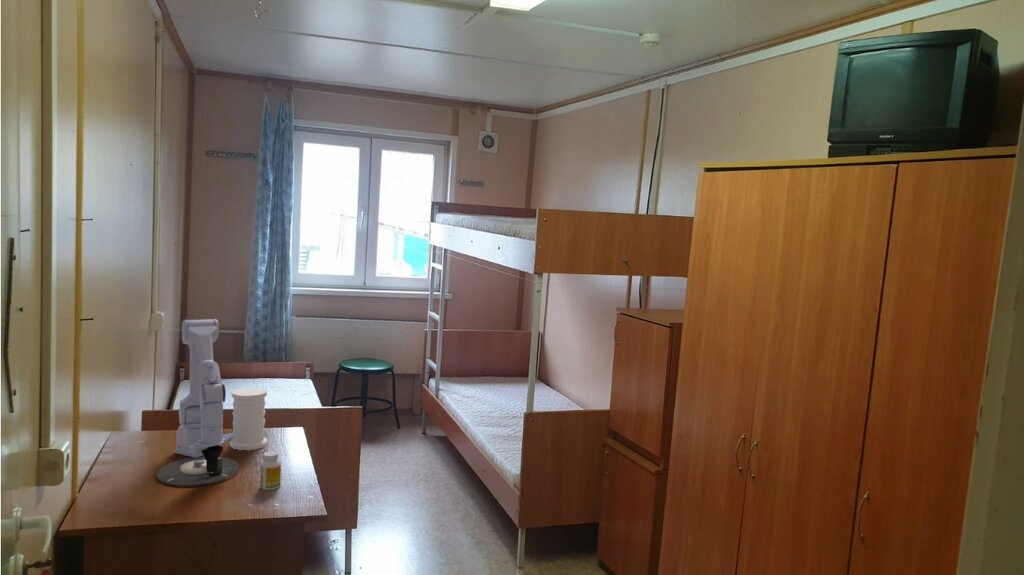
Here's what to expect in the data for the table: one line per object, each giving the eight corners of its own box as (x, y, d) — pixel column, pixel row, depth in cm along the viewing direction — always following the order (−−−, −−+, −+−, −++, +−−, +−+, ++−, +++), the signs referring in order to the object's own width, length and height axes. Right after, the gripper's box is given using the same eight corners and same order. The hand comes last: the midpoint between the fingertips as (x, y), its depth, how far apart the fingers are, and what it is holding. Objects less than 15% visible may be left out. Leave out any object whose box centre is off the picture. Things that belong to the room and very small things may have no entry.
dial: (172, 470, 204) (172, 455, 203) (200, 460, 213) (201, 446, 212) (206, 480, 198) (206, 464, 197) (234, 469, 207) (234, 454, 206)
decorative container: (251, 452, 225) (252, 397, 223) (222, 447, 229) (222, 393, 227) (274, 442, 236) (275, 389, 234) (246, 437, 240) (246, 385, 238)
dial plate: (139, 477, 200) (139, 473, 200) (201, 455, 220) (201, 451, 220) (196, 492, 192) (196, 488, 192) (255, 467, 212) (255, 464, 212)
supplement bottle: (284, 485, 200) (285, 452, 199) (272, 491, 195) (272, 457, 194) (268, 482, 202) (269, 449, 201) (256, 488, 197) (256, 454, 196)
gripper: (201, 433, 191) (201, 482, 193) (242, 421, 205) (241, 466, 206) (182, 429, 194) (182, 477, 195) (224, 417, 207) (223, 462, 209)
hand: (211, 471), depth 201 cm, fingers closed, pressing on dial
